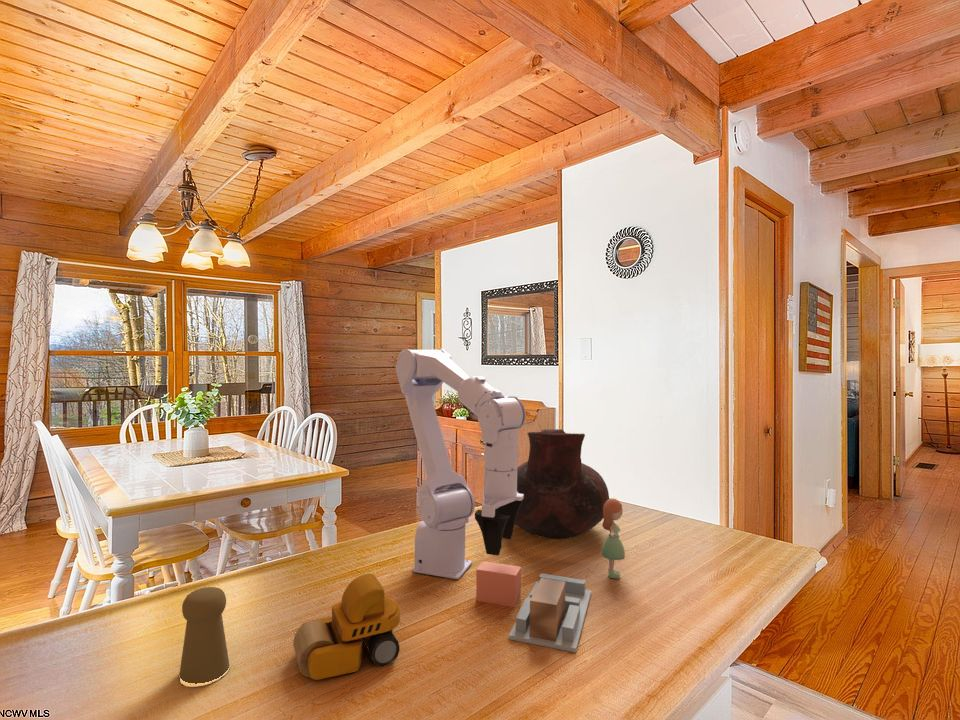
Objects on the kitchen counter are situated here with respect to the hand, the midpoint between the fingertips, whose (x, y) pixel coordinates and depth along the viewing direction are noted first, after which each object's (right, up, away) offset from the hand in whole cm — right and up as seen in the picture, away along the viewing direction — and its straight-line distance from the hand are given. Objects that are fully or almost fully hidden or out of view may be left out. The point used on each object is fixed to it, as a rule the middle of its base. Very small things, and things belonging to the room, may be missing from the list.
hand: (499, 545), depth 92 cm
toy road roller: (-22, -10, -17) cm, 29 cm away
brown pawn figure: (-40, -10, -21) cm, 46 cm away
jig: (+9, -10, -5) cm, 14 cm away
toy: (+22, -10, +10) cm, 26 cm away
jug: (+14, -9, +34) cm, 37 cm away
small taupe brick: (+7, -9, -9) cm, 15 cm away
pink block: (0, -9, 0) cm, 9 cm away
